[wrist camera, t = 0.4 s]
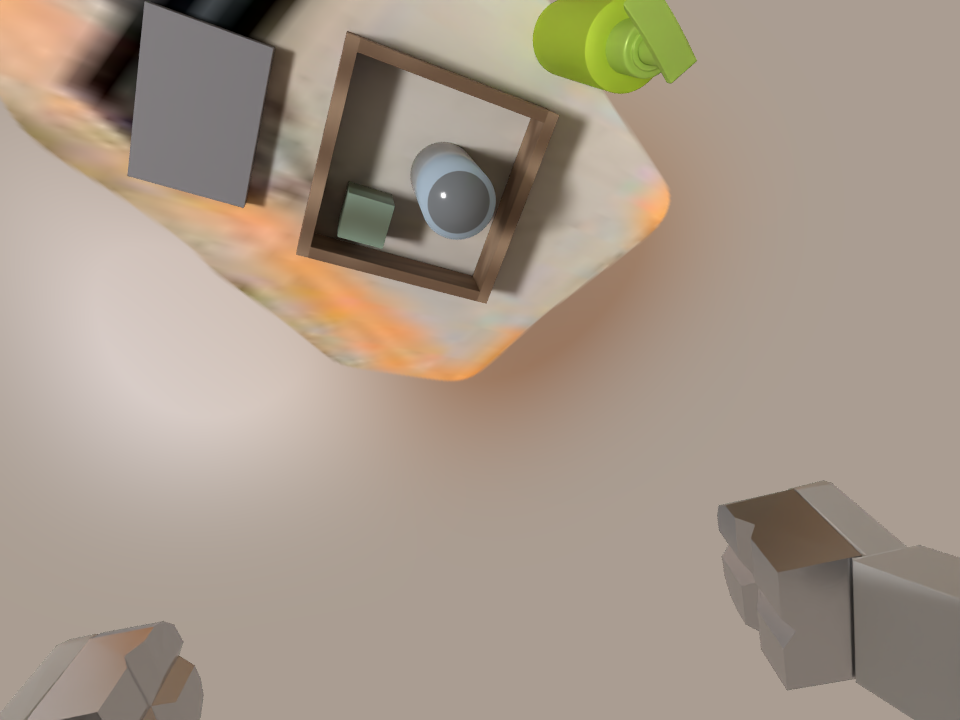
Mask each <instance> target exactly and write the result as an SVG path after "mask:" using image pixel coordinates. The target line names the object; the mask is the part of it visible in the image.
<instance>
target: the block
mask: <svg viewBox="0 0 960 720" xmlns="http://www.w3.org/2000/svg"><path fill="white" fill-rule="evenodd" d="M394 208H395V205H394V201H393V197H392V194H389V193H385V192H382V191H379V190H376V189H372V188H369V187H366V186H362V185H359V184H356V183H353V182H348V186H347V190H346V193H345V197H344V201H343V205H342V209H341V213H340V217H339V221H338V237H340V238H344V239H348V240H351V241H355V242H359V243H362V244H366V245H370V246H373V247H377V248H381V249H383V245H384V242H385V238H386V235H387V232H388V228H389V225H390V221H391V218H392V215H393V211H394Z"/></svg>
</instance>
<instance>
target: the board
mask: <svg viewBox="0 0 960 720" xmlns="http://www.w3.org/2000/svg"><path fill="white" fill-rule="evenodd" d="M274 51H275V47H273V46H270V45H268V44H265V43H262V42H259V41H257V40H254V39H251V38H248V37H246V36H243V35H240V34H238V33H235V32H232V31H229V30H227V29H224V28H221V27H218V26H216V25H213V24H210V23H207V22H205V21H202V20H199V19H196V18H194V17H191V16H188V15H186V14H183V13H180V12H177V11H175V10H172V9H169V8H166V7H164V6H161V5H158V4H155V3H153V2H146V1H145V4H144V14H143V24H142V34H141V44H140V54H139V65H138V75H137V85H136V95H135V105H134V115H133V126H132V136H131V146H130V156H129V166H128V176H130V177H134V178H137V179H141V180H144V181H148V182H152V183H155V184H159V185H163V186H166V187H170V188H173V189H177V190H181V191H184V192H188V193H192V194H195V195H199V196H202V197H206V198H210V199H213V200H217V201H221V202H224V203H228V204H231V205H235V206H239V207H242V208H244V206H245V204H246V201H247V196H248V190H249V185H250V180H251V174H252V169H253V163H254V158H255V153H256V147H257V142H258V137H259V131H260V126H261V120H262V115H263V110H264V104H265V99H266V94H267V88H268V83H269V77H270V72H271V67H272V61H273V56H274Z"/></svg>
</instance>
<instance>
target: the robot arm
mask: <svg viewBox="0 0 960 720" xmlns="http://www.w3.org/2000/svg"><path fill="white" fill-rule="evenodd" d="M717 516H718V526H719V531H720V533H721V534H722V535H723V537H724V538H725V540H726V541H727V543H728V544H729V545H728V547H727V549H726V550H725V552H724V554H723V555H722V560H723V568H724V575H725V579H726V582H727V586H728V589H729V592H730V596H731V598H732V600H733V602H734V604H735V606H736V608H737V611H738V612H739V614H740V616H741V617H742V619H743V621H744V622H745V624H746V625H748V626H750V627H752V628H754V629H756V630H758V631H759V634H760V643H761V650H762V651H763V653H764V655H765V656H766V658H767V659H768V661H769V663H770V664H771V666H772V667H773V669H774V670H775V672H776V674H777V675H778V677H779V678H780V680H781V682H782V683H783V685H784V686H785V688H786V690H792V689H798V688H803V687H809V686H816V685H822V684H828V683H833V682H840V681H846V680H852V679H856V683H858V684H859V685H861V686H862V687H864V688H865V689H867V690H869V691H870V692H872V693H873V694H875V695H877V696H878V697H880V698H881V699H883V700H884V701H886V702H888V703H889V704H890V705H892V706H894V707H895V708H897V709H898V710H900V711H901V712H903V713H905V714H906V715H908V716H909V717H911V718H912V719H914V720H960V558H959V557H956V556H953V555H950V554H946V553H943V552H940V551H937V550H934V549H931V548H927V547H925V546H921V545H917V546H912V547H907V546H906V545H904V544H903V543H902V542H901V541H900V540H899V539H897V538H896V537H895V536H894V535H892V534H891V533H890V532H889V531H888V530H887V529H886V528H884V527H883V526H882V525H881V524H880V523H879V522H877V521H876V520H875V519H874V518H872V517H871V516H870V515H869V514H868V513H867V512H865V511H864V510H863V509H862V508H861V507H860V506H859V505H857V504H856V503H855V502H854V501H853V500H851V499H850V498H849V497H848V496H846V495H845V494H844V493H843V492H842V491H841V490H840V489H838V488H837V487H836V486H835V485H834V484H833V483H831V482H827V481H819V482H815V483H812V484H807V485H803V486H799V487H795V488H790V489H789V490H786V491H782V492H777V493H773V494H768V495H764V496H759V497H755V498H751V499H746V500H741V501H736V502H732V503H727V504H723V505H719V507H718V515H717ZM182 645H183V640H182V638H181V636H180V635H179V633H178V631H177V629H176V628H175V625H173V624H170V623H167V622H164V621H162V622H157V623H152V624H146V625H141V626H136V627H130V628H125V629H119V630H114V631H109V632H104V633H100V634H93V635H89V636H84V637H79V638H74V639H70V640H67V641H65V642H63V643H61V644H59V645H57V646H56V647H55V648H54V649H53V650H52V652H51V653H50V654H49V655H48V656H47V658H46V659H45V660H44V661H43V662H42V664H41V665H40V666H39V667H38V668H37V670H36V671H35V672H34V673H33V674H32V675H31V677H30V678H29V679H28V680H27V681H26V683H25V684H24V685H23V686H22V687H21V689H20V690H19V691H18V692H17V693H16V695H15V696H14V697H13V698H12V699H11V700H10V702H9V703H8V704H7V705H6V706H5V708H4V709H3V710H2V711H1V712H0V720H200V717H201V710H202V703H203V689H202V684H201V678H200V676H199V674H198V672H197V669H196V668H195V665H193V664H192V663H190V662H188V661H187V660H185V659H183V658H182V657H180V656H179V654H180V651H181V648H182Z"/></svg>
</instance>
